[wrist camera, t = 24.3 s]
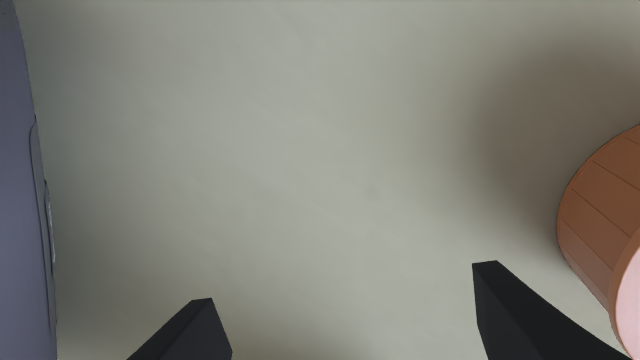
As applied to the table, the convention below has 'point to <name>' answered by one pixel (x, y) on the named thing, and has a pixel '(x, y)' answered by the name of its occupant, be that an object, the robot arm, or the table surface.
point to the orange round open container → (601, 212)
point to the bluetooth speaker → (23, 211)
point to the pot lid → (627, 298)
